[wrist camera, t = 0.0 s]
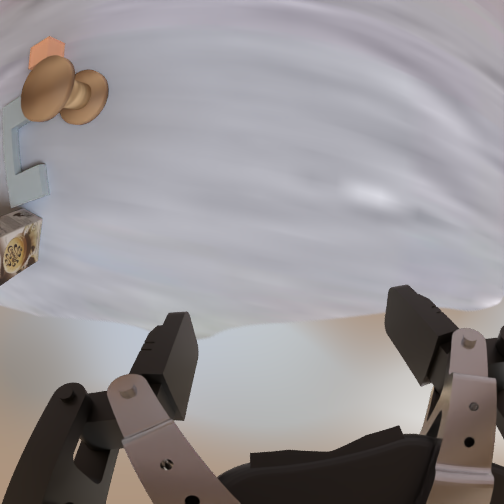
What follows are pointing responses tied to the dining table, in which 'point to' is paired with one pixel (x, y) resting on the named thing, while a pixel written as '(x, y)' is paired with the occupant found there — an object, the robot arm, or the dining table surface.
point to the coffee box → (18, 242)
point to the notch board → (19, 183)
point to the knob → (63, 92)
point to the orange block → (45, 50)
